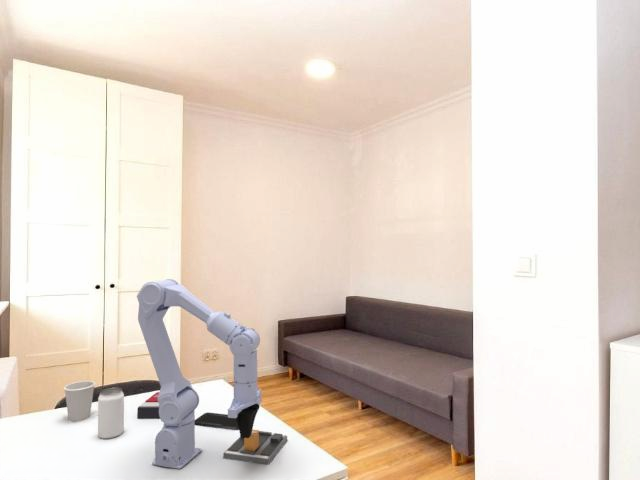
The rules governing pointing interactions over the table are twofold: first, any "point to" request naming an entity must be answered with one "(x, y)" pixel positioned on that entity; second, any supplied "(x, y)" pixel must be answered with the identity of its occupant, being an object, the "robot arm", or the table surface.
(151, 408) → the red and black box
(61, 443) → the table surface
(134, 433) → the table surface
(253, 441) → the handle
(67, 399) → the dixie cup
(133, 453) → the table surface
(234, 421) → the phone
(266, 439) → the panel
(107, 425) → the can
